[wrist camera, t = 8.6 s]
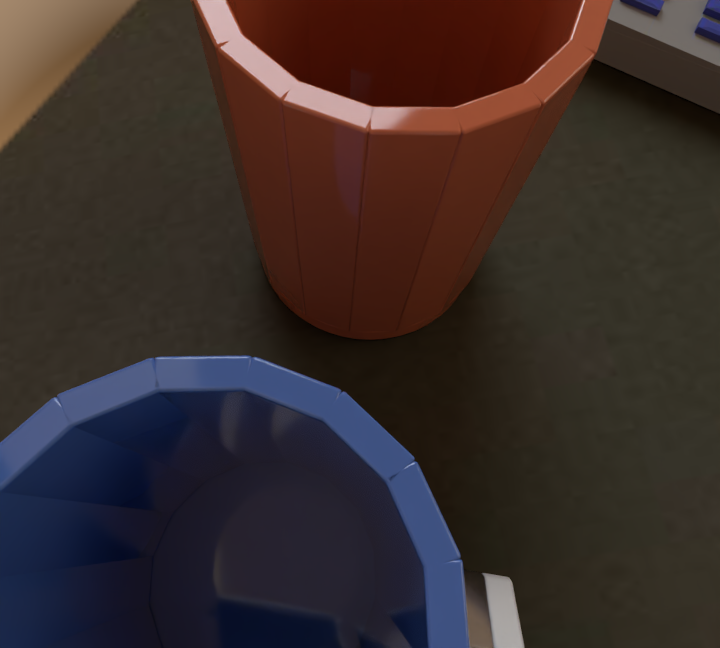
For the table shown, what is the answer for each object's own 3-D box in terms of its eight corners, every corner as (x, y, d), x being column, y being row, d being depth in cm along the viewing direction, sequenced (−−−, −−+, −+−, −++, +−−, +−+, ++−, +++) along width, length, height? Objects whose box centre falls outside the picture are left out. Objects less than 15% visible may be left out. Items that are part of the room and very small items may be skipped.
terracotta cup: (484, 338, 18) (648, 134, 9) (254, 341, 18) (172, 131, 9) (465, 146, 21) (578, -179, 11) (261, 145, 20) (201, -193, 11)
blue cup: (396, 711, 15) (497, 979, 6) (128, 724, 15) (-192, 1030, 6) (385, 445, 17) (446, 351, 8) (151, 451, 17) (-53, 358, 8)
